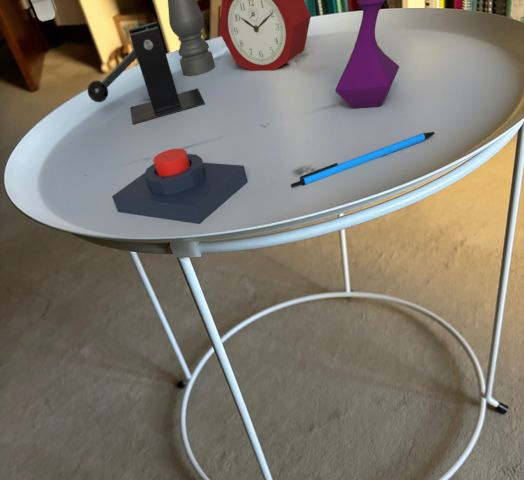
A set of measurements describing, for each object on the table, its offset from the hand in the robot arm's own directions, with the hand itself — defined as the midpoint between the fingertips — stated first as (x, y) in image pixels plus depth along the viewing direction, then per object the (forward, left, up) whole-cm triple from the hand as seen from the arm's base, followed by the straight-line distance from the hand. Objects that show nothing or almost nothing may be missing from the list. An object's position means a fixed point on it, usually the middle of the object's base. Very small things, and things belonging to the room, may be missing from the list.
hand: (48, 17), depth 61 cm
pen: (+27, +15, -21) cm, 37 cm away
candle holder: (-20, +44, -21) cm, 53 cm away
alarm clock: (-5, +47, -21) cm, 52 cm away
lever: (-17, +24, -14) cm, 33 cm away
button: (+9, +2, -18) cm, 20 cm away
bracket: (-14, +27, -21) cm, 37 cm away
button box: (+9, +2, -21) cm, 23 cm away
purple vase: (+20, +32, -21) cm, 43 cm away
